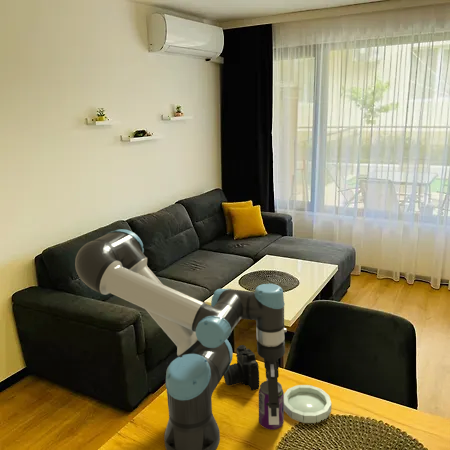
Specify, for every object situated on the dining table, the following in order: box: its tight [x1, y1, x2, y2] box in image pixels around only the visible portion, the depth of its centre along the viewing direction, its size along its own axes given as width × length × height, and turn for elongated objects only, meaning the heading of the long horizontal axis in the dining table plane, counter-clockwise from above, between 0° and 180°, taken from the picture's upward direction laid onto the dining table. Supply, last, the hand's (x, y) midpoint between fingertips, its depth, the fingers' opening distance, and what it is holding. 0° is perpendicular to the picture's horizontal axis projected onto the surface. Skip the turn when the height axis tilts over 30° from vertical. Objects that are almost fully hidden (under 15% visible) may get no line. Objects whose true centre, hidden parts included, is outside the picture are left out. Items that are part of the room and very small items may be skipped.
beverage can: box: [258, 380, 285, 430], centre depth 124 cm, size 7×7×12 cm
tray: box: [284, 384, 332, 424], centre depth 131 cm, size 14×14×2 cm
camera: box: [223, 344, 260, 391], centre depth 144 cm, size 14×11×10 cm
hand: (272, 407), depth 124 cm, fingers open, 13 cm apart
